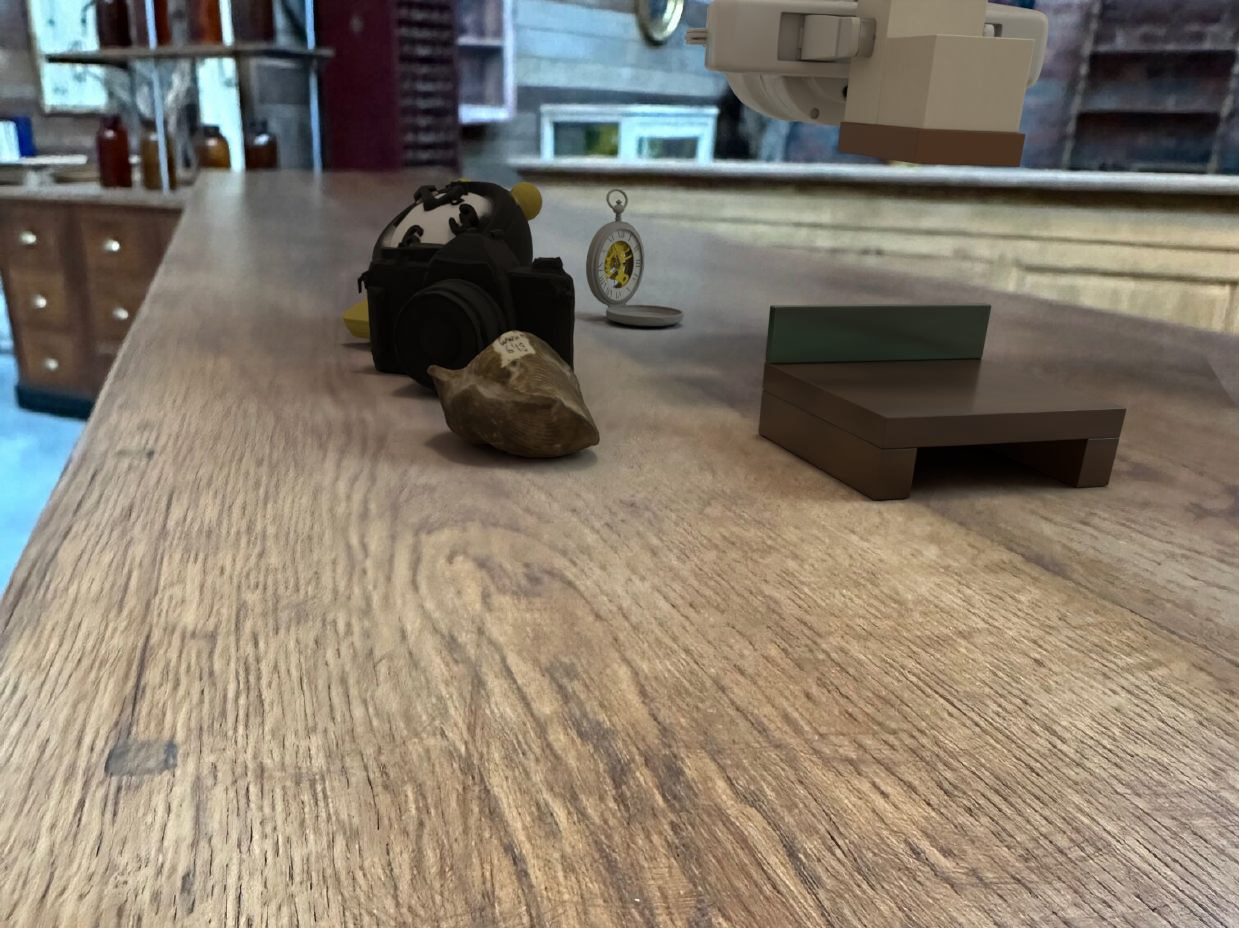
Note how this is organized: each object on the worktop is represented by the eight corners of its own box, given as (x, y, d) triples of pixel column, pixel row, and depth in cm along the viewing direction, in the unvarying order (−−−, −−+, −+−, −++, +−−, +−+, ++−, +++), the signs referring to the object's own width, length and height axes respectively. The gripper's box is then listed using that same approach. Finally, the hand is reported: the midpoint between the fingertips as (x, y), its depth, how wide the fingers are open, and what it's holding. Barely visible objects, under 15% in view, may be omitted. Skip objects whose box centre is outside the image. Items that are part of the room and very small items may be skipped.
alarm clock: (356, 377, 99) (358, 183, 97) (536, 387, 100) (541, 196, 98) (335, 333, 87) (337, 112, 85) (540, 345, 88) (545, 128, 87)
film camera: (319, 385, 78) (306, 230, 73) (387, 360, 86) (379, 218, 81) (541, 409, 74) (542, 247, 70) (591, 380, 82) (594, 233, 78)
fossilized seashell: (390, 391, 66) (485, 464, 60) (451, 278, 64) (555, 343, 58) (487, 447, 72) (582, 519, 66) (546, 345, 70) (649, 410, 64)
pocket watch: (678, 331, 101) (686, 196, 96) (578, 325, 102) (581, 190, 97) (688, 317, 108) (696, 190, 103) (595, 311, 109) (598, 185, 104)
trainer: (836, 151, 71) (860, -60, 66) (929, 154, 72) (960, -54, 67) (913, 163, 61) (949, -84, 56) (1020, 167, 62) (1064, -75, 57)
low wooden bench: (757, 433, 71) (769, 304, 68) (962, 424, 76) (984, 302, 72) (874, 500, 60) (896, 351, 57) (1108, 485, 64) (1143, 345, 61)
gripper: (680, -25, 74) (743, -44, 62) (993, -6, 77) (1106, -20, 66) (674, 96, 77) (732, 100, 65) (974, 109, 81) (1079, 114, 69)
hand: (923, 40), depth 66 cm, fingers closed on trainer, 5 cm apart
